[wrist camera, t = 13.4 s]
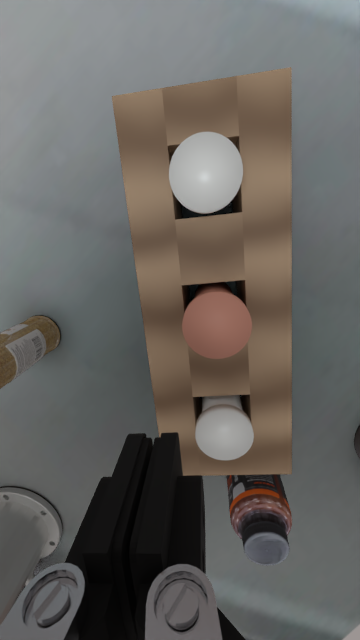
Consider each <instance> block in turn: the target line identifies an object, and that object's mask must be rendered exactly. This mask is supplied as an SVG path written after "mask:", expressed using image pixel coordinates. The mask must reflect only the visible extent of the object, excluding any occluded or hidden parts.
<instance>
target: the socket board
mask: <svg viewBox="0 0 360 640" xmlns="http://www.w3.org/2000/svg"><path fill="white" fill-rule="evenodd" d="M112 101H113V108H114V115H115V122H116V129H117V137H118V144H119V151H120V158H121V165H122V173H123V180H124V187H125V194H126V201H127V208H128V216H129V223H130V230H131V237H132V244H133V252H134V259H135V266H136V273H137V280H138V288H139V295H140V302H141V309H142V316H143V323H144V331H145V338H146V345H147V352H148V359H149V367H150V374H151V381H152V388H153V395H154V402H155V410H156V417H157V424H158V431H159V437H161V433H172V432H178V435H179V443H180V452H181V462H182V471H183V476H187V475H202V476H204V475H264V474H292V215H291V67H290V68H284V69H278V70H272V71H265V72H259V73H253V74H247V75H241V76H234V77H228V78H222V79H216V80H209V81H203V82H197V83H191V84H185V85H178V86H172V87H166V88H160V89H154V90H147V91H141V92H135V93H129V94H122V95H116V96H112ZM200 132H215V133H218V134H221V135H223V136H225V137H226V138H228V139H229V140H230V141H231V142H232V143H233V144H234V145H235V147H236V148H237V150H238V152H239V154H240V156H241V159H242V164H243V177H242V182H241V185H240V188H239V190H238V192H237V194H236V195H235V197H234V198H233V199H232V207H233V213H231V214H222V215H213V216H204V217H195V218H186V219H183V218H182V207H181V203H180V202H179V201H178V199H177V198H176V197H175V195H174V193H173V191H172V189H171V185H170V181H169V167H170V162H171V159H172V156H173V154H174V152H175V151H176V149H177V147H178V146H179V145H180V144H181V143H182V142H183V141H184V140H185V139H187V138H188V137H190V136H192V135H194V134H196V133H200ZM227 281H236V286H237V297H238V298H239V299H240V300H241V301H242V302H243V303H244V304H245V306H246V308H247V309H248V311H249V313H250V316H251V320H252V331H251V335H250V338H249V340H248V342H247V343H246V345H245V346H244V347H243V348H242V349H241V350H240V351H239V352H238V353H236V354H234V355H233V356H230V357H227V358H223V359H210V358H206V357H204V356H201V355H199V354H198V353H196V352H195V351H193V350H192V349H191V348H190V346H189V345H188V344H187V342H186V340H185V338H184V335H183V331H182V321H183V317H184V313H185V311H186V308H187V307H188V305H189V304H190V293H189V285H192V284H204V283H215V282H227ZM226 395H242V397H240V400H241V405H242V410H243V411H244V412H245V413H246V414H247V416H248V417H249V419H250V421H251V424H252V429H253V433H254V439H253V443H252V446H251V448H250V449H249V450H248V451H247V452H246V453H245V454H244V455H243V456H241V457H239V458H237V459H233V460H217V459H214V458H211V457H209V456H208V455H206V454H205V453H204V452H203V451H202V450H201V449H200V448H199V446H198V444H197V442H196V438H195V431H196V422H197V419H198V417H199V416H200V414H201V413H202V399H199V397H204V396H226Z"/></svg>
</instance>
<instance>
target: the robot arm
mask: <svg viewBox="0 0 360 640" xmlns="http://www.w3.org/2000/svg"><path fill="white" fill-rule="evenodd" d="M61 535H62V524H61V520H60V518H59V516H58V514H57V512H56V511H55V509H54V508H53V507H52V506H51V505H50V504H49V503H48V502H47V501H46V500H45V499H43V498H42V497H41V496H39V495H37V494H35V493H33V492H31V491H28V490H25V489H21V488H13V487H6V488H0V640H245V639H244V637H243V636H242V635H241V634H240V633H239V632H238V631H237V629H236V628H235V627H234V626H233V625H232V624H231V622H230V621H229V620H228V619H227V618H226V617H225V616H224V614H223V613H222V612H221V611H220V610H219V609H218V608H217V605H216V599H215V594H214V590H213V587H212V584H211V582H210V581H209V579H208V578H207V576H206V569H205V505H204V491H203V480H202V475H187V476H183V471H182V462H181V452H180V443H179V435H178V432H172V433H161V437H159V438H155V440H154V445H153V444H152V439H151V438H146V434H145V433H142V434H128V436H127V438H126V441H125V443H124V446H123V449H122V451H121V454H120V456H119V459H118V462H117V464H116V467H115V469H114V472H113V475H112V477H103V478H102V479H101V480H100V482H99V484H98V486H97V489H96V491H95V493H94V496H93V498H92V500H91V503H90V505H89V507H88V510H87V512H86V514H85V517H84V519H83V521H82V524H81V526H80V528H79V531H78V533H77V535H76V538H75V540H74V543H73V545H72V547H71V550H70V552H69V554H68V557H67V559H66V561H65V563H59V564H55V565H52V566H50V567H48V568H46V569H45V570H43V571H41V572H40V573H39V574H37V575H36V576H35V575H34V570H35V568H36V566H37V564H38V562H39V560H40V559H42V558H44V557H46V556H48V555H50V554H51V553H52V552H53V551H54V550H55V548H56V547H57V545H58V543H59V541H60V539H61ZM24 585H25V586H26V587H25V588H24V590H23V591H22V589H23V587H24ZM21 591H22V593H21ZM20 593H21V594H20ZM19 595H20V596H19ZM17 598H18V599H17Z"/></svg>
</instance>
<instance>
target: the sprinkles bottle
mask: <svg viewBox="0 0 360 640" xmlns="http://www.w3.org/2000/svg"><path fill="white" fill-rule="evenodd" d="M59 341H60V332H59V329H58V327H57V325H56V324H55V323H54V322H53V321H52V320H51V319H49V318H48V317H45V316H33V317H30V318H29V319H27V320H26V321H25V322H23V323H21V324H19V325H16V326H13V327H11V328H9V329H7V330H5V331H3V332H1V333H0V388H2V387H3V386H4V385H6V384H7V383H9V382H11V381H12V380H14V379H15V378H16V377H18V376H19V375H20V374H22V373H23V372H24V371H25V370H27V369H28V368H29V367H31V366H32V365H33V364H35V363H36V362H37V361H39V360H40V359H41V358H42V357H43V356H44V355H45V354H47V353H48V352H50V351H52V350H54V349H55V348H56V347H57V345H58V344H59Z"/></svg>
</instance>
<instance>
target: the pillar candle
mask: <svg viewBox="0 0 360 640" xmlns="http://www.w3.org/2000/svg"><path fill="white" fill-rule="evenodd" d="M354 445H355V450H356V453H357V455H358V457H359V458H360V426H359V428H358V430H357V432H356V434H355V439H354Z"/></svg>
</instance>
